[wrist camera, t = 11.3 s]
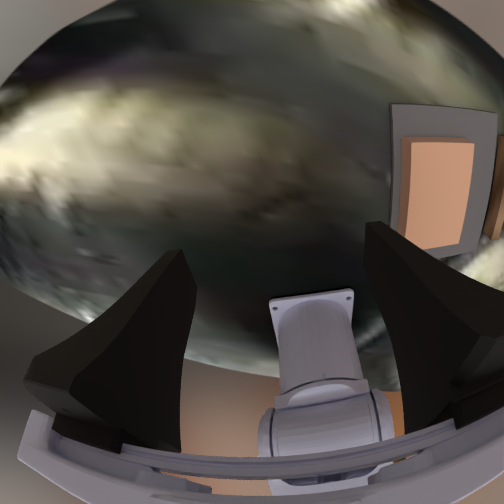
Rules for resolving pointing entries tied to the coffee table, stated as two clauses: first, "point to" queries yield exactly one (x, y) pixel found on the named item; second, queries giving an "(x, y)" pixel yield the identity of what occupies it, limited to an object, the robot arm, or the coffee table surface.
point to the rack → (496, 197)
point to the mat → (447, 125)
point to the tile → (434, 189)
